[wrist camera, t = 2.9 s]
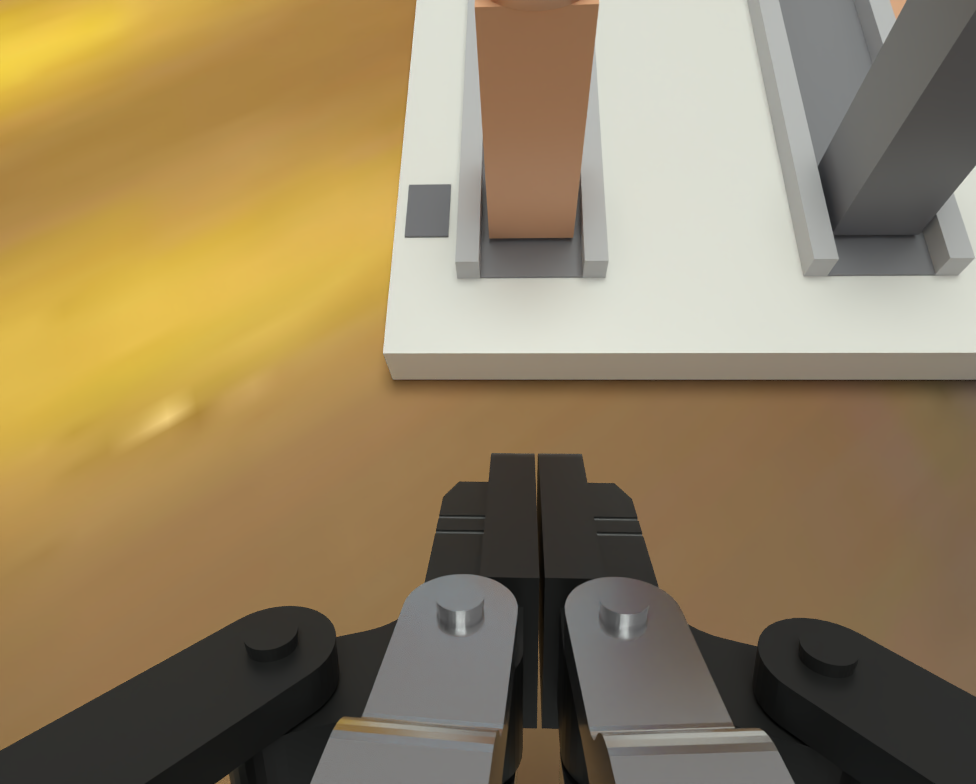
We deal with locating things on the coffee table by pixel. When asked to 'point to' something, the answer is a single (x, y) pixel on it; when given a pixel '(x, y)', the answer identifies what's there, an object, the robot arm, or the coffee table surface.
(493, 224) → the tan switch lever
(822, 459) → the coffee table surface
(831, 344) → the switch panel
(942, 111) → the dark grey upright bar
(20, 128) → the coffee table surface
